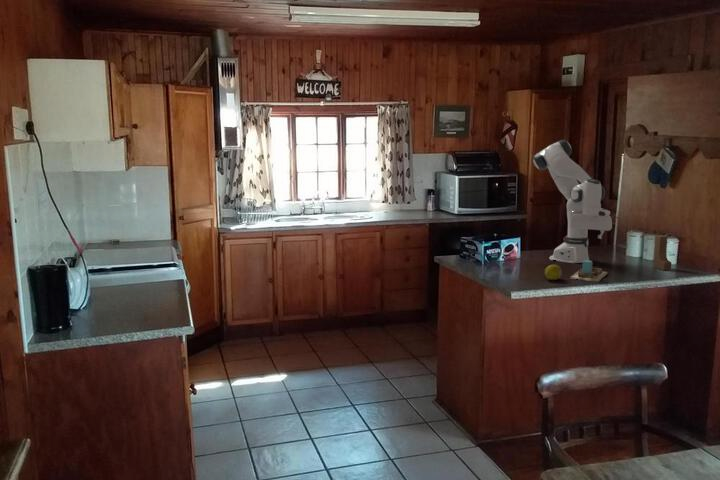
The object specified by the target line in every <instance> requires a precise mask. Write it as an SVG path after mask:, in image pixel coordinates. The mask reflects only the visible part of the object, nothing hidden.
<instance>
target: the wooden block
mask: <svg viewBox="0 0 720 480" xmlns="http://www.w3.org/2000/svg"><path fill="white" fill-rule="evenodd" d="M654 236H655V238H654V251H653V252H654V253H653V268H655V269H658V270H661V271H671V270H672V261H669V259H668V258H667V248H668V236H667V235H664V234H660V235H659V234H658V235H654Z"/></svg>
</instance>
